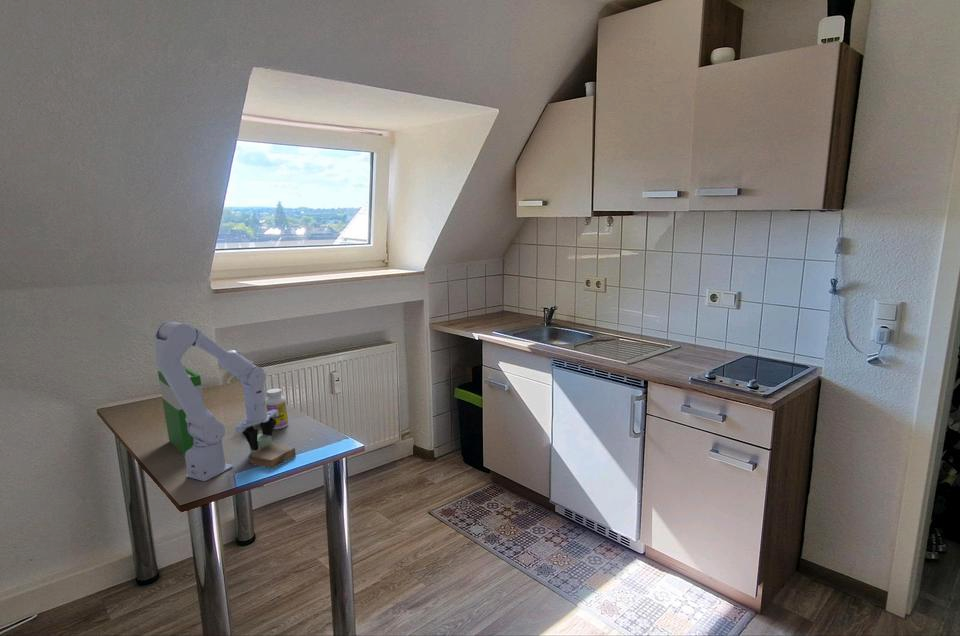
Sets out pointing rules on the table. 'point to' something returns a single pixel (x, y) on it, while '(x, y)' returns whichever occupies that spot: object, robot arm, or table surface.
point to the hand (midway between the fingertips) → (261, 446)
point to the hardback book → (178, 412)
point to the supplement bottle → (277, 407)
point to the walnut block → (272, 455)
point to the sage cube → (262, 442)
